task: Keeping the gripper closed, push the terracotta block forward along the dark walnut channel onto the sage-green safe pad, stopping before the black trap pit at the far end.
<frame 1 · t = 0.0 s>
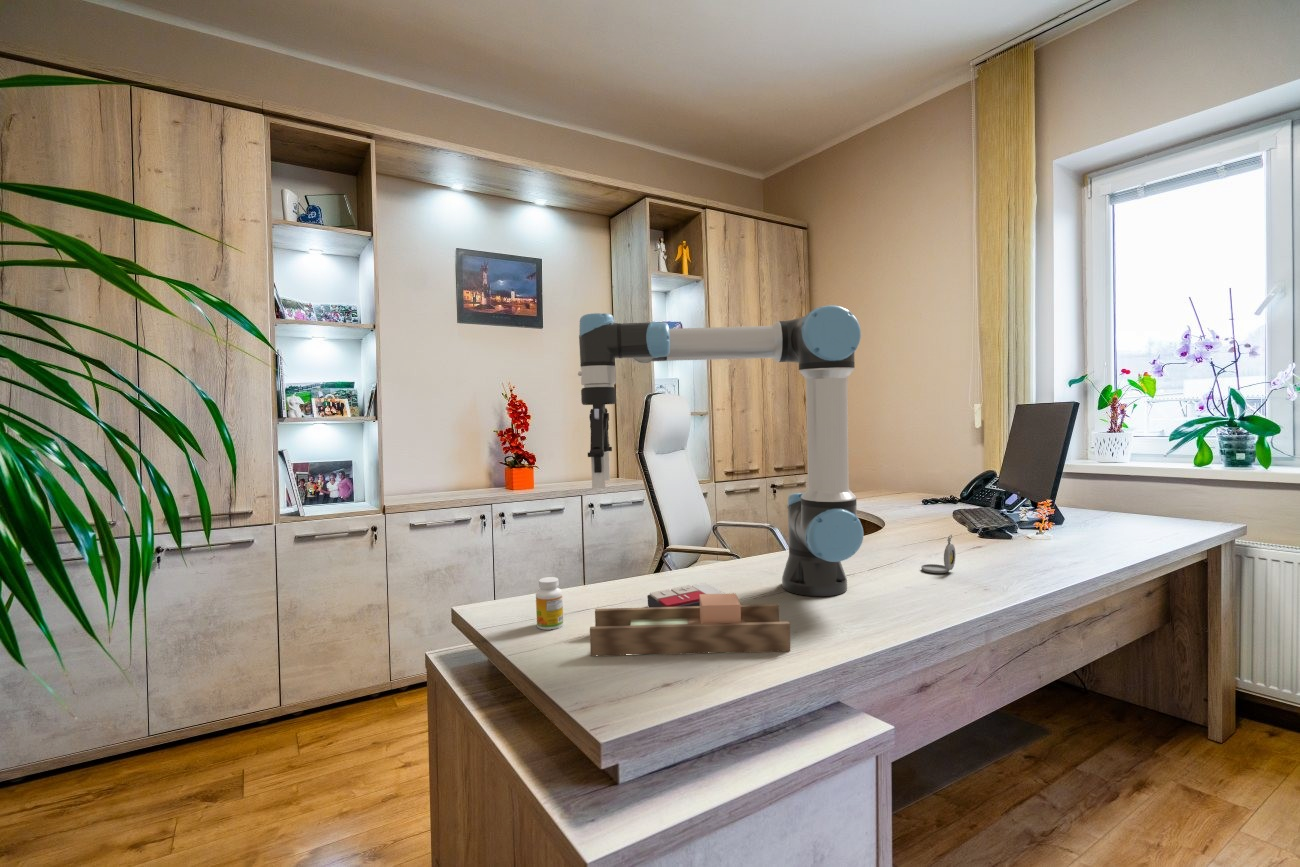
hand: (601, 484, 140), 28 cm above the table, tool pointing down, fingers open, 13 cm apart
trap channel: (688, 641, 121), on the table
block: (720, 625, 121), point 3 cm above the table, touching trap channel
pocket watch: (939, 572, 165), on the table
supplement bottle: (550, 626, 133), on the table
calculator: (688, 611, 141), on the table
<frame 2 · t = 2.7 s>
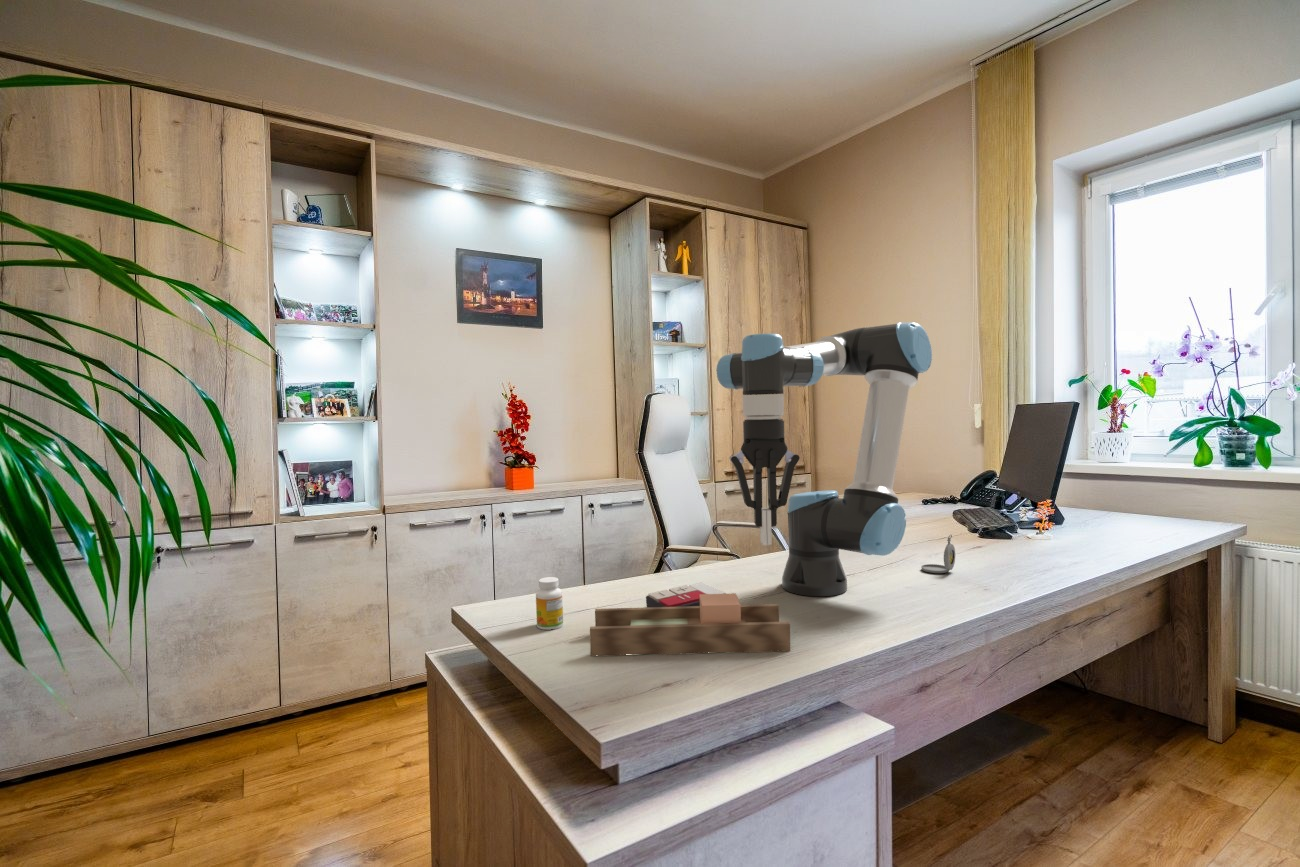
hand: (766, 543, 120), 18 cm above the table, tool pointing down, fingers closed
nothing on the table moved.
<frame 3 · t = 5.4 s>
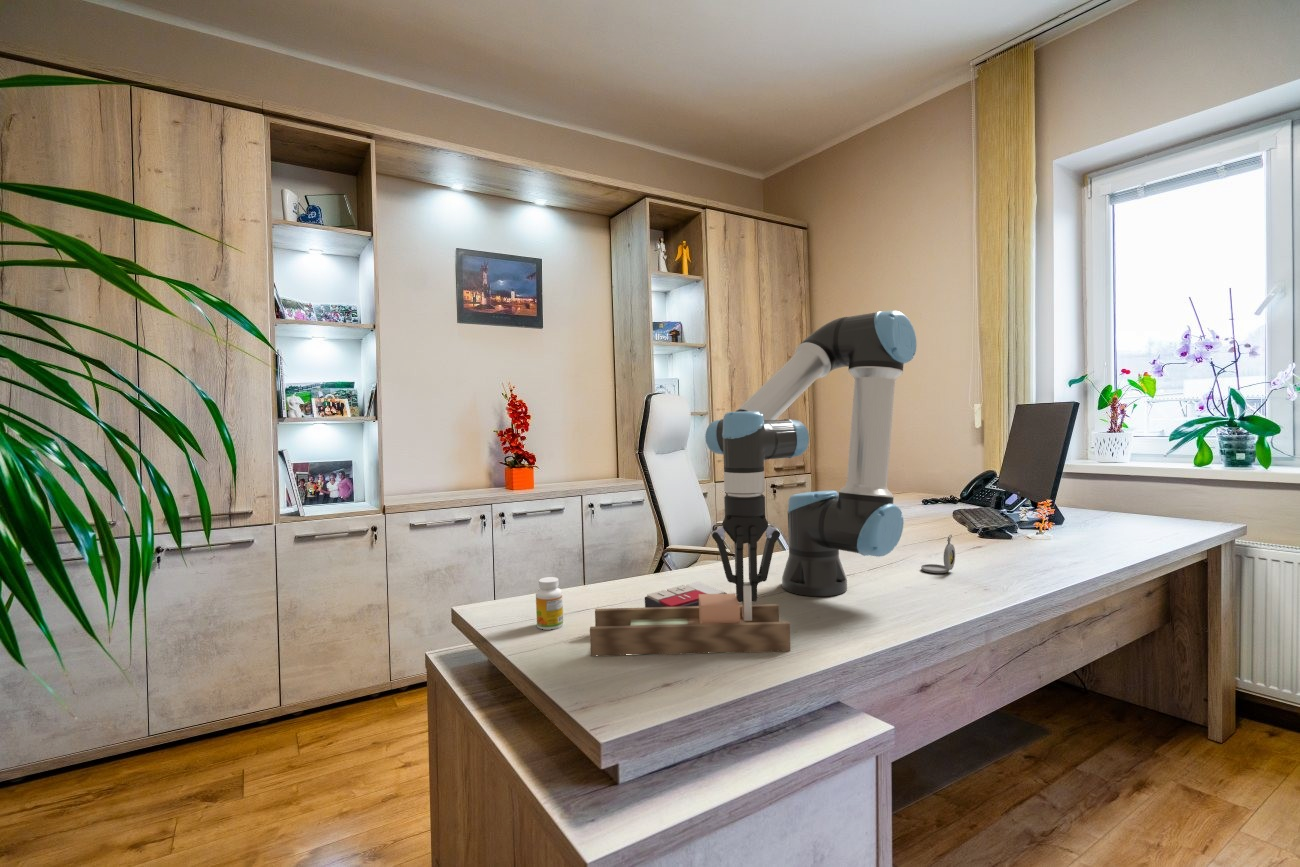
hand: (747, 618, 121), 4 cm above the table, tool pointing down, fingers closed
block: (719, 625, 121), point 3 cm above the table, touching gripper
everything else where it was.
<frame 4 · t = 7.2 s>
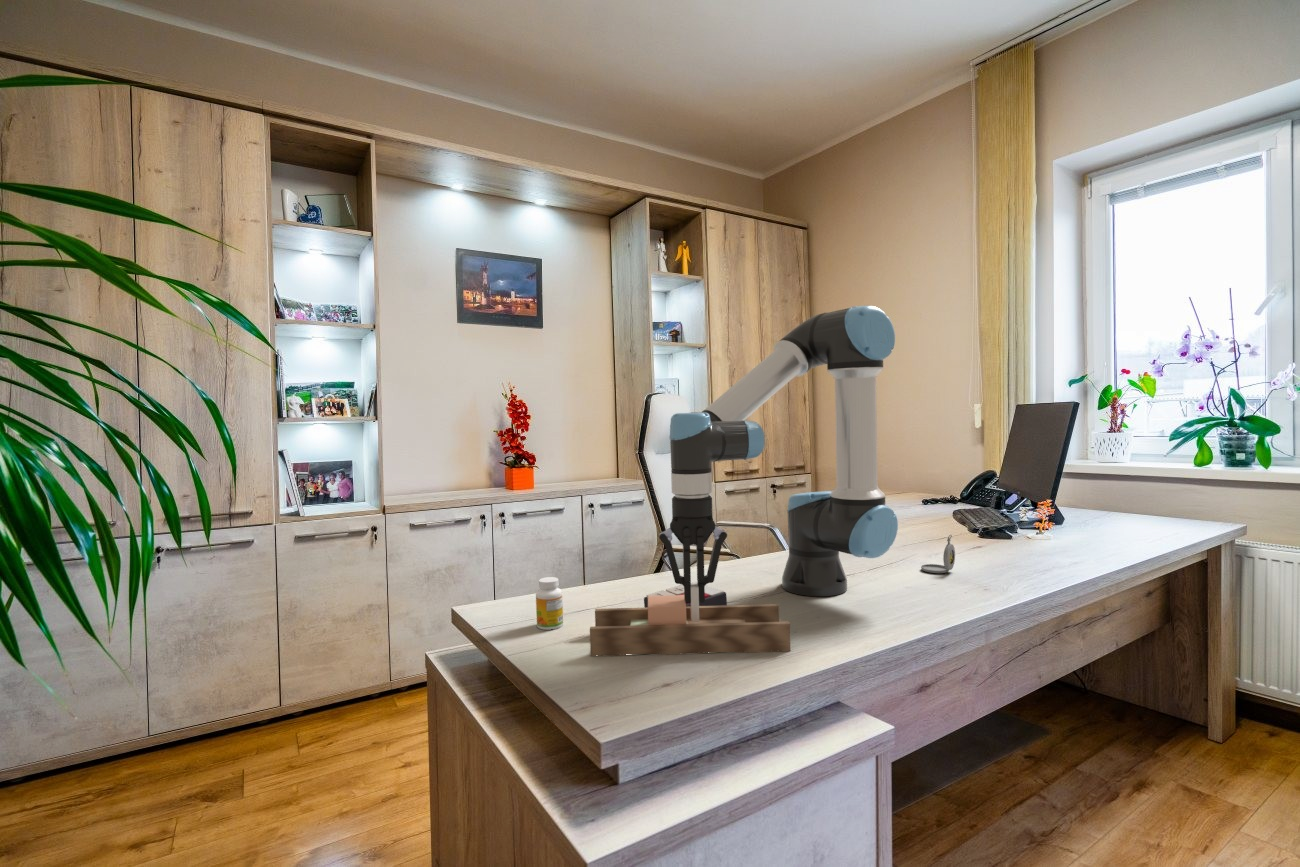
hand: (695, 619, 121), 4 cm above the table, tool pointing down, fingers closed
block: (667, 627, 121), point 3 cm above the table, touching gripper, trap channel
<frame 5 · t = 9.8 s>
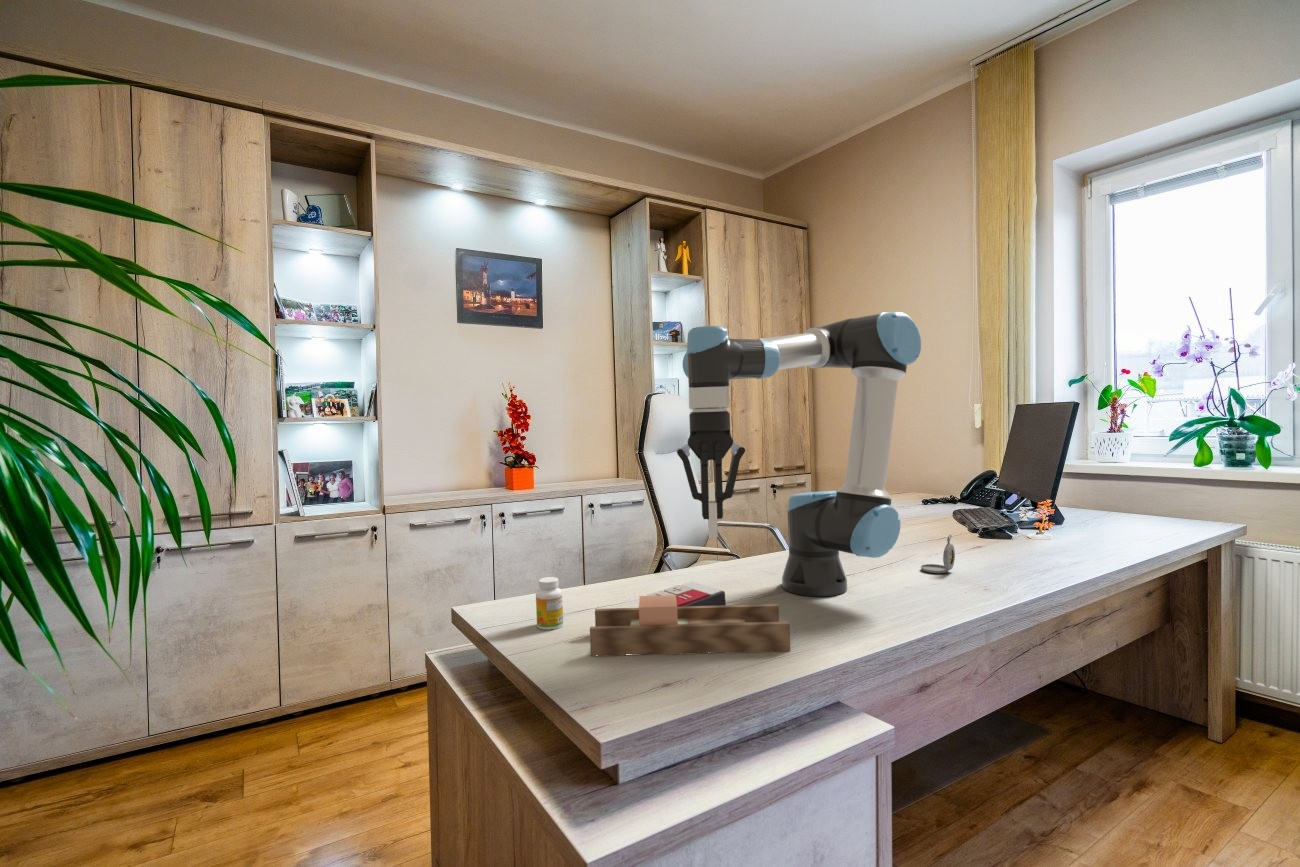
hand: (713, 536, 121), 20 cm above the table, tool pointing down, fingers closed
block: (658, 627, 121), point 3 cm above the table, touching trap channel
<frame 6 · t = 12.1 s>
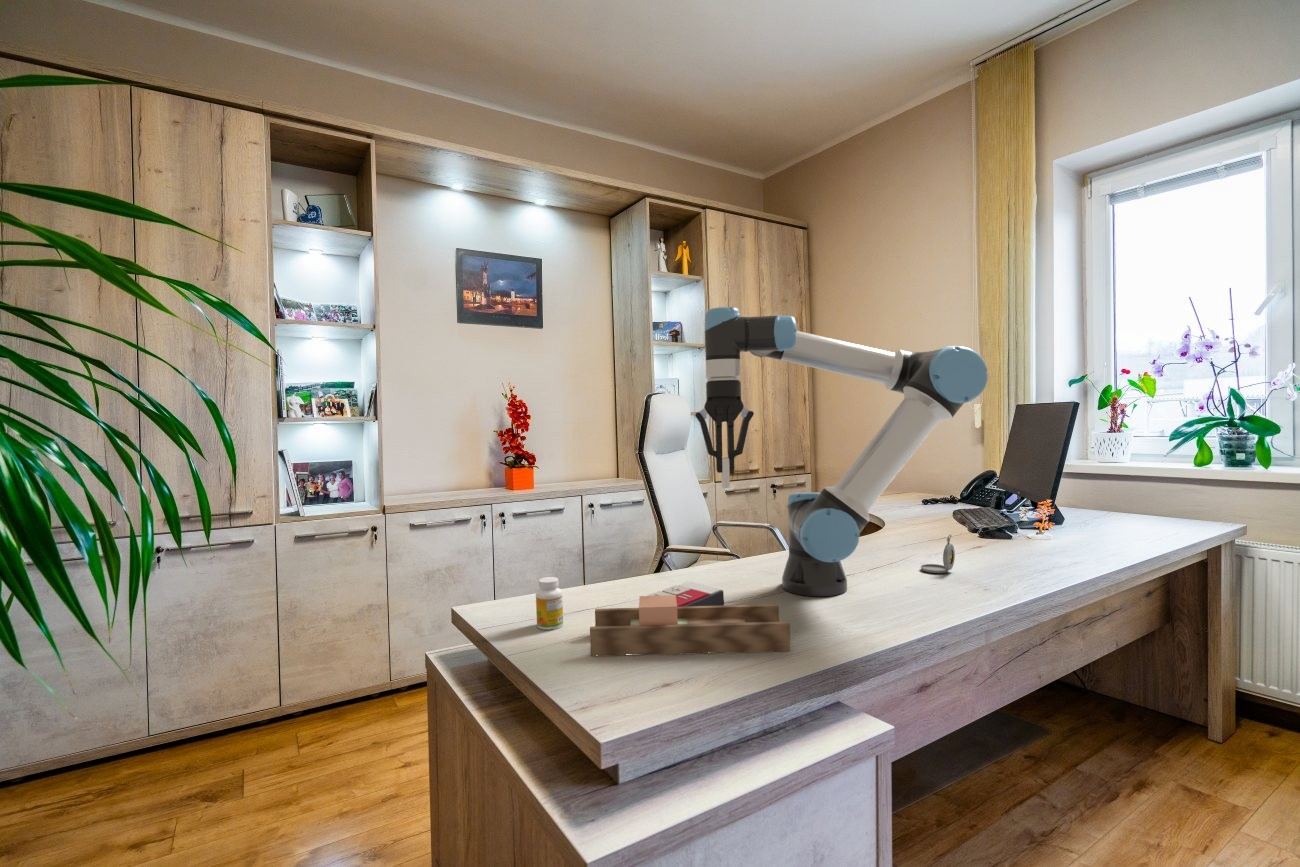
hand: (725, 487, 141), 26 cm above the table, tool pointing down, fingers closed
at the end: block 0.4 cm from the target spot on the trap channel, point 3.0 cm above the trap channel's base; block tilted 0° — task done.
